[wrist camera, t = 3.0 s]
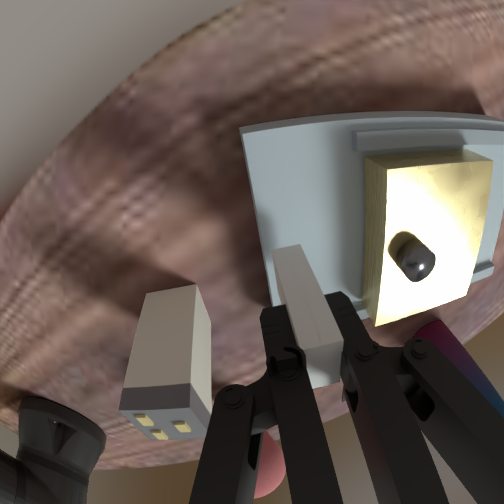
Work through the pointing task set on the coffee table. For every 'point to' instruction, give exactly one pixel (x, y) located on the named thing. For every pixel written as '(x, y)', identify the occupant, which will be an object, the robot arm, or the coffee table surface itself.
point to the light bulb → (269, 467)
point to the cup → (461, 360)
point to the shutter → (421, 229)
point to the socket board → (351, 184)
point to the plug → (170, 367)
